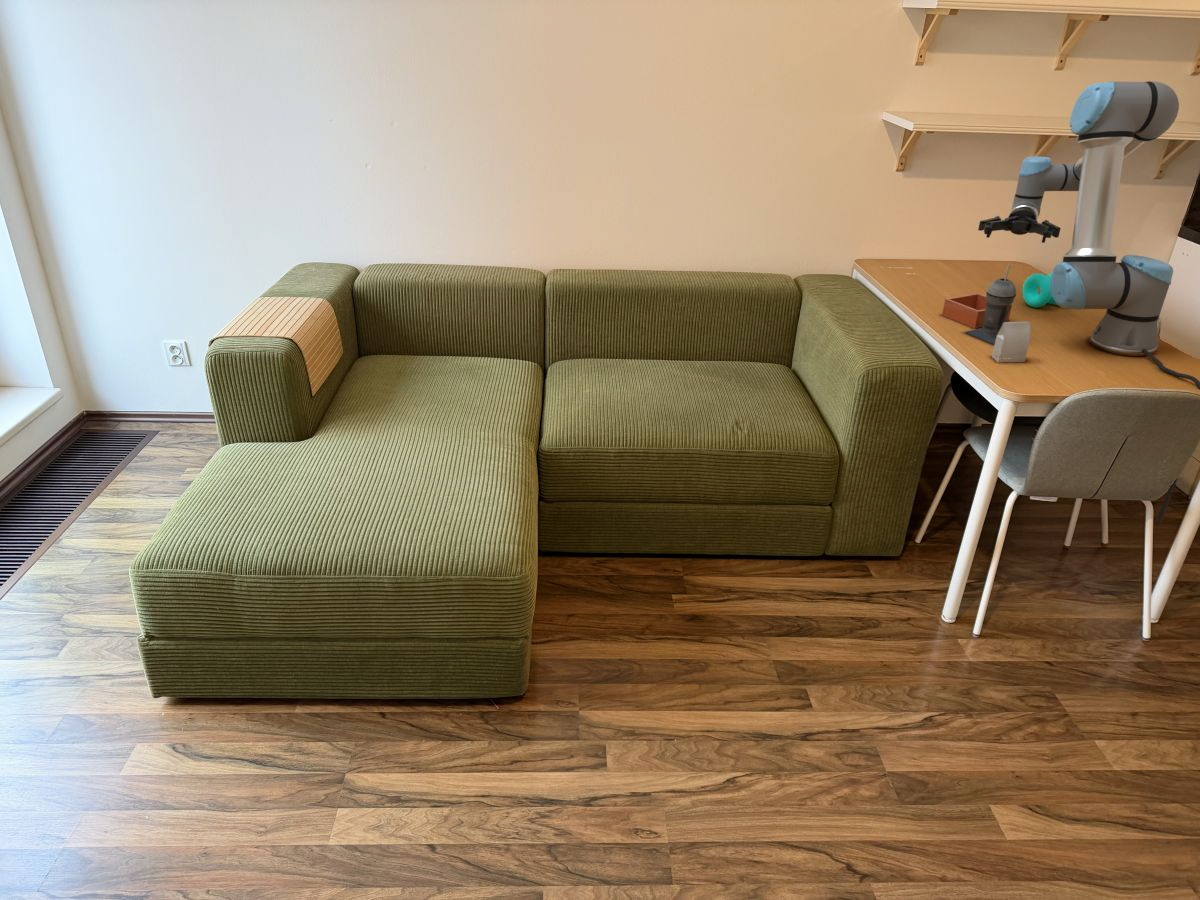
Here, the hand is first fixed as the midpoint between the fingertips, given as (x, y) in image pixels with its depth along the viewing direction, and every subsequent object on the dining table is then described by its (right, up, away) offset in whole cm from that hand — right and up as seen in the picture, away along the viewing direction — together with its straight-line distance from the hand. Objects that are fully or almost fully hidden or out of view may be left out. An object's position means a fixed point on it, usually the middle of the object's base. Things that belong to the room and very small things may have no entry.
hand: (1016, 235), depth 215 cm
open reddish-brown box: (-3, -20, +18) cm, 27 cm away
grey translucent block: (-7, -35, -9) cm, 37 cm away
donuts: (+22, -14, +27) cm, 38 cm away
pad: (-4, -27, +5) cm, 27 cm away
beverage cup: (-4, -26, +5) cm, 27 cm away
